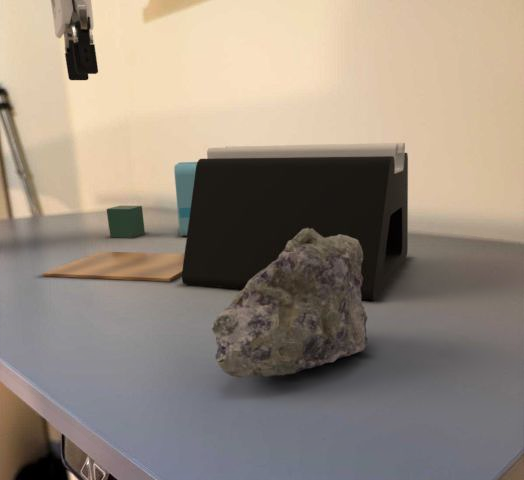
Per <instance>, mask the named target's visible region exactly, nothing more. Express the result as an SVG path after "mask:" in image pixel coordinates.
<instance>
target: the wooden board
mask: <svg viewBox="0 0 524 480" xmlns="http://www.w3.org/2000/svg"><path fill="white" fill-rule="evenodd" d="M184 255H185V253H165V252H164V253H163V252H131V251H98V252H96V253H93V254H90V255H88V256H84V257H82V258H80V259H77V260H74V261H72V262H69V263H65V264H63V265H61V266H58V267H56V268H53V269H50V270H47V271H45V272H43V273H42V275H43V277H54V278H55V277H56V278H77V279H78V278H79V279H102V280H123V281H124V280H125V281H147V282H171V281H173V280H175V279H177V278H179V277H180V276H182V270H183V262H184Z"/></svg>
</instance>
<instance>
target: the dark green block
mask: <svg viewBox="0 0 524 480" xmlns="http://www.w3.org/2000/svg"><path fill="white" fill-rule="evenodd" d="M143 211H144V210H143V205H117V206H112V207H109V208H106V215H107V223H108V230H109V237H110V238H118V239H119V238H121V239H125V238H126V239H133V238H136V237H139V236H142V235H144V234H146V232H145V221H144V213H143Z"/></svg>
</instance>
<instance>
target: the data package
mask: <svg viewBox="0 0 524 480" xmlns="http://www.w3.org/2000/svg"><path fill="white" fill-rule="evenodd" d="M197 162H198V161H191V162H190V161H185V162H184V161H182V162H178V163H177V164H175V165H174V168H173V170H174V184H175V193H176V207H177V216H178V218H177V219H178V230H179V235H180V237H187V232H188V224H189V217H190V209H191V202H192V194H193V187H194V179H195V171H196V165H197Z"/></svg>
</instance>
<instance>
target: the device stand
mask: <svg viewBox="0 0 524 480" xmlns="http://www.w3.org/2000/svg"><path fill="white" fill-rule="evenodd" d="M405 151H406V142H376V143H375V142H374V143H369V142H367V143H328V144H327V143H326V144H323V143H322V144H284V145H283V144H281V145H276V144H275V145H239V146H238V145H237V146H235V145H234V146H231V145H230V146H225V147H224V146H223V147H208V148H207V150H206V158H199V159H198V160H197V161H196V162H197V165H196V171H195V179H194V187H193V194H192V202H191V209H190V217H189V224H188V232H187V236H186V240H185V247H184V254H185V255H184V262H183V270H182V274H181V281H182V283H183V284H184V285H191V286H200V287H201V286H203V287H214V288H224V289H225V288H226V289H235V290H236V289H237V290H238V289H239V290H243V289H244V288H245V286H246V284H247V283H248V281H249V280H250V279H252V278H253V277H254V276H255V275H256V274H258V273H259V272H260V271H261V270H263V269H265V268H267V267H268V266H269V265H270V264H271V263H272V262H274V261H275V260H277V259H278V257H279V255H280V254H281V253H282V252H283V250H284V249H285V247H286V245H287V243H288V241H290V240H292V239H293V238H294V237H295V236H296V235H297V234H298V233H299V232H300V231H301V230H302V229H306V228H309V229H312V228H313V229H314V230H315V231H316V232H317V233H318V234H320V235H321V236H322V237H324V238H326V237H330V236H337V235H339V234H341V235H346V236H349V237H351V238H354V239H357V240H358V241H359V243H360V245H361V248H362V251H363V262H362V265H361V274H362V277H363V282H362V286H361V287H360V291H361V300H367V301H376V299H377V298H378V296H379V295H380V294H381V292H382V291H383V290H384V289H385V287H386V286H387V284H388V283H389V282H390V281H391V279H392V278H393V277H394V275H395V274H396V273H397V271H398V270H399V268H400V267H401V266H402V265H403V263H404V262H405V261H406V259H407V257H408V249H409V248H408V247H409V246H408V245H409V243H408V240H409V239H408V238H409V235H408V233H409V231H408V230H409V229H408V226H409V223H408V222H409V221H408V220H409V210H408V209H409V154H408V152H405Z"/></svg>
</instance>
